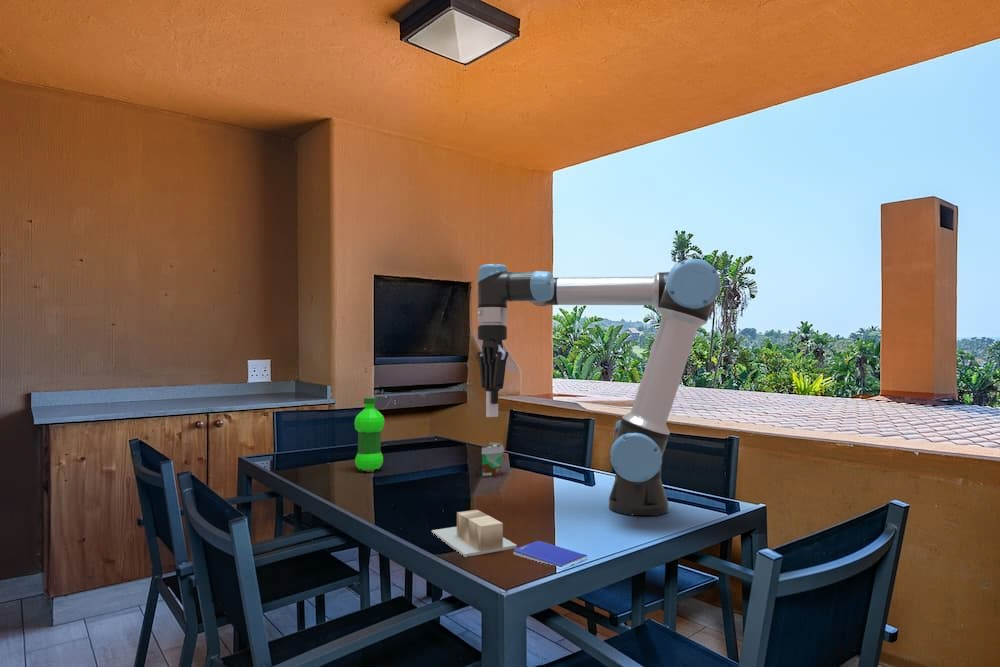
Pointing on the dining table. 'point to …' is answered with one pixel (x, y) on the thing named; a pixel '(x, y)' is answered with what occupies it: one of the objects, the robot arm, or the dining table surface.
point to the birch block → (480, 530)
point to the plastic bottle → (369, 436)
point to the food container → (492, 459)
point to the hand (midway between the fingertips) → (492, 416)
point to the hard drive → (548, 554)
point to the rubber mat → (466, 543)
